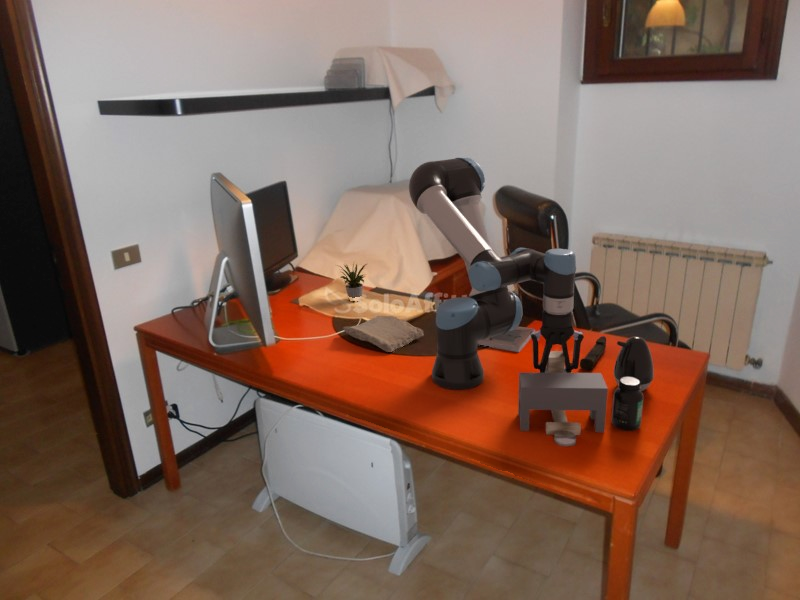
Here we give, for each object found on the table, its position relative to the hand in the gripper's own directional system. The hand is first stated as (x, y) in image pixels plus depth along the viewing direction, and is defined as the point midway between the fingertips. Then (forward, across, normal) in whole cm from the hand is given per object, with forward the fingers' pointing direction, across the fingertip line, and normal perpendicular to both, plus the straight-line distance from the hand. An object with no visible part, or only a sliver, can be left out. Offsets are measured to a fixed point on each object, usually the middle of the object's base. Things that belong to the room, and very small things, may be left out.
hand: (554, 391), depth 160 cm
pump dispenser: (+3, +22, +7) cm, 23 cm away
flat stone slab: (+3, -53, +41) cm, 67 cm away
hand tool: (+3, +15, +26) cm, 31 cm away
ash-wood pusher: (+3, 0, -7) cm, 8 cm away
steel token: (+3, 0, -20) cm, 20 cm away
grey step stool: (+3, 0, -12) cm, 12 cm away
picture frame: (+4, -14, +42) cm, 44 cm away
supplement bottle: (+3, +16, -12) cm, 20 cm away
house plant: (+3, -70, +80) cm, 106 cm away
